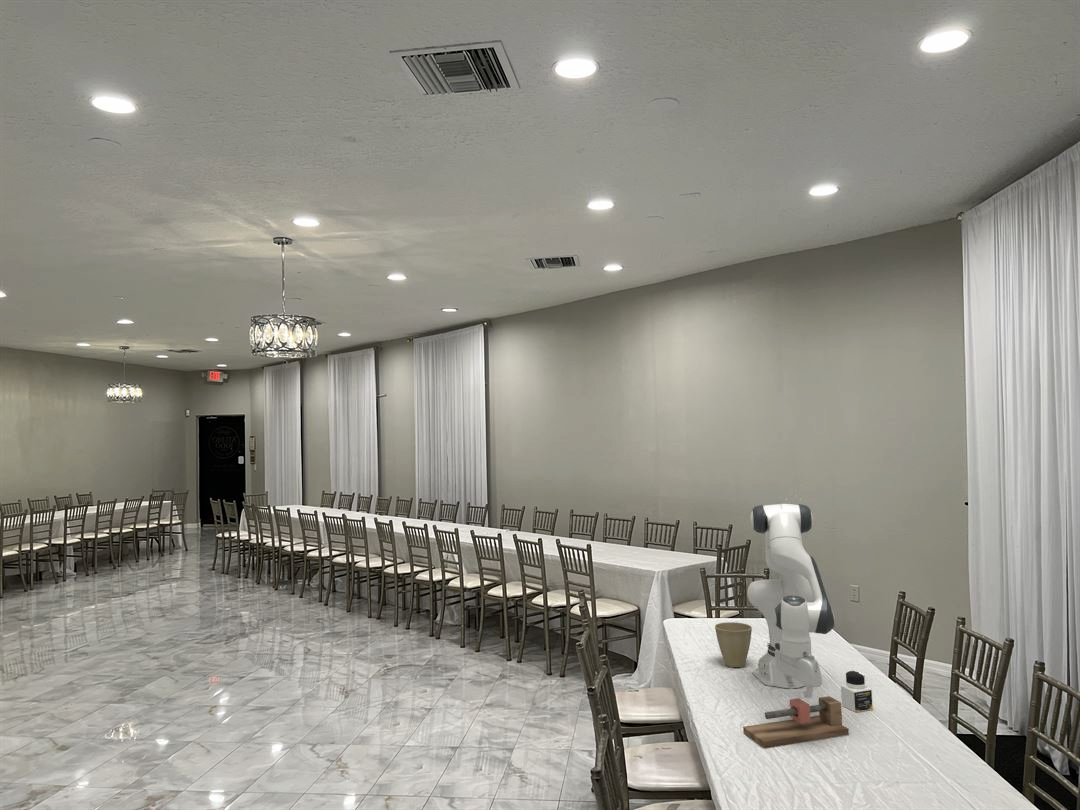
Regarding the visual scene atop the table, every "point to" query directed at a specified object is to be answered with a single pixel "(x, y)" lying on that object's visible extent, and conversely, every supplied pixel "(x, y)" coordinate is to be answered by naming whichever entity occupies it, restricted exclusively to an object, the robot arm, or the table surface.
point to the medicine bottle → (856, 692)
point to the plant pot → (734, 642)
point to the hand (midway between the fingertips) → (799, 692)
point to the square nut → (800, 710)
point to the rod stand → (800, 725)
